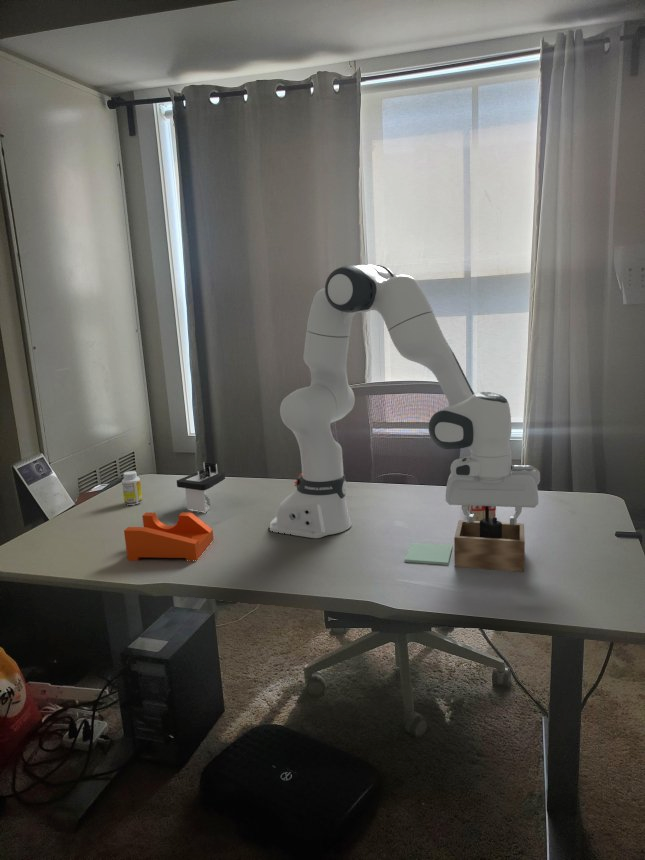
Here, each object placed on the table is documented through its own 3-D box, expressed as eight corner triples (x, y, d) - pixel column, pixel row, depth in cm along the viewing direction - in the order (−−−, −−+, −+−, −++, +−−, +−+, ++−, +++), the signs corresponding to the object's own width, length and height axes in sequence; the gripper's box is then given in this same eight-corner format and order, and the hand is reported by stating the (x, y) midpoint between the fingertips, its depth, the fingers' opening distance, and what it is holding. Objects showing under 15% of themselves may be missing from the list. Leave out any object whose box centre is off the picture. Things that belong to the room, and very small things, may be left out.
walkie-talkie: (503, 560, 141) (503, 498, 138) (492, 564, 140) (492, 501, 137) (487, 553, 145) (487, 493, 142) (477, 557, 144) (476, 496, 141)
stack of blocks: (464, 505, 179) (464, 464, 177) (486, 505, 178) (486, 464, 176) (470, 533, 159) (470, 487, 156) (496, 533, 158) (496, 487, 155)
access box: (454, 566, 140) (454, 537, 138) (458, 547, 150) (458, 520, 148) (524, 571, 135) (524, 541, 134) (523, 551, 145) (524, 523, 144)
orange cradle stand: (128, 562, 153) (123, 530, 152) (149, 541, 166) (146, 512, 164) (197, 563, 150) (193, 531, 149) (213, 542, 163) (210, 512, 161)
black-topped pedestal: (209, 530, 171) (205, 484, 168) (142, 518, 184) (136, 475, 182) (267, 499, 195) (264, 459, 192) (203, 490, 208) (200, 452, 205)
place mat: (404, 561, 144) (404, 559, 144) (411, 544, 153) (411, 542, 153) (448, 565, 141) (448, 562, 141) (452, 547, 150) (452, 545, 150)
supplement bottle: (139, 499, 201) (135, 469, 199) (145, 503, 197) (141, 472, 195) (122, 503, 198) (118, 472, 196) (128, 507, 193) (124, 476, 191)
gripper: (539, 461, 138) (539, 520, 140) (446, 460, 144) (448, 516, 147) (540, 469, 132) (540, 530, 134) (443, 468, 138) (445, 526, 141)
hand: (491, 523), depth 141 cm, fingers open, 8 cm apart
